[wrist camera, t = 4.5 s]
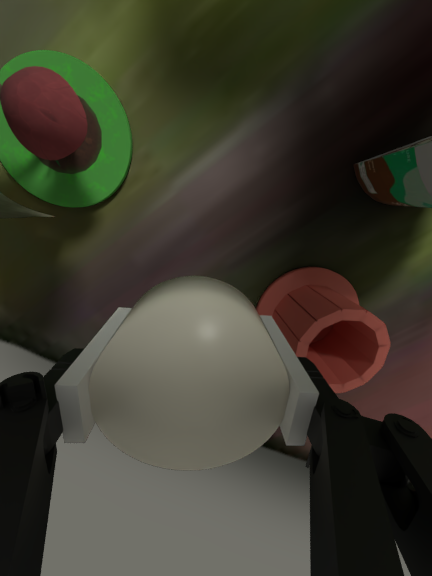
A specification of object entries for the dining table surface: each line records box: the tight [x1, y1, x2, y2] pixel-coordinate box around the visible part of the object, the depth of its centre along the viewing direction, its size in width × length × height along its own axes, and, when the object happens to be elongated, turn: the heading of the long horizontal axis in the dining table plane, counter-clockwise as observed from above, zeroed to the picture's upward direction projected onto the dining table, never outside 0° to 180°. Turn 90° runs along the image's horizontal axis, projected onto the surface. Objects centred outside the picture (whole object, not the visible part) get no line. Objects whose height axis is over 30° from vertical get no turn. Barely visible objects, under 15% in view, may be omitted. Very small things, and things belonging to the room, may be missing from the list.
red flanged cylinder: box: [256, 267, 391, 393], centre depth 22 cm, size 11×11×7 cm
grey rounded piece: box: [89, 276, 289, 471], centre depth 13 cm, size 8×8×7 cm
